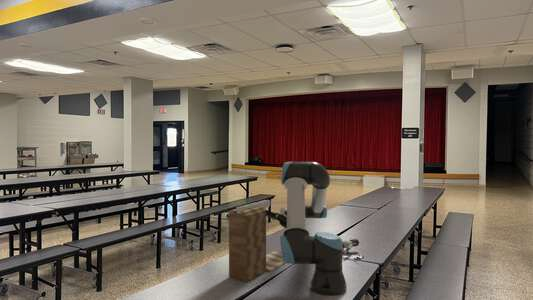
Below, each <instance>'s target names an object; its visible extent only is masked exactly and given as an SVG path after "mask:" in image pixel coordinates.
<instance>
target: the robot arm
mask: <svg viewBox="0 0 533 300" xmlns="http://www.w3.org/2000/svg"><path fill="white" fill-rule="evenodd" d="M281 169H282V170H281V177H280V179H281V180H280V182H281V185H283V187H284V189H285V190H286V209H285V208H284V207H280V211H279V213H278V212H273V211H270V210H268V209H267V207H266V208H263V210H266V218H270V219H272V220H273V221H275V220H276V221H278V222H279V225H280V226H281V227H283V228H284V229H285V230H284V231H283V235H280V236H279V240H280V241H279V243H280V252H281V253H282V260H283V262H284V263H285V264H289V265H290V264H291V265H314V272H313V275H312V277H311V278H312V279H311V280H310V289H311V290H312V291H313V292H315V293H318V294H320V295H326V296H337V295H341V294H344V293H345V292H346V291H347V282H346V278H345V275H344V271H343V251H342V250H343V247H342V242H343V240H342V238H341V237H340V236H339V235H337V234H334V233H331V232H325V231H320V232H319V231H317V232H315V234H314V236H312V235H311V236H310V231H308V230H307V228H306V225H307V224H306V219H326V218H327V217H328V209H327V208H328V207H327V205H326V204H325V203H326V197H327V190H328V187H330V181H331V177H330V174H329V171H328V170H327V169H326V167H324V165H322V164H321V163H319V162H316V161H285V162H283V165H282V168H281ZM309 185H312V189H311V190H312V191H311V192H312V193H311V203H310V205H309V204H306V199H305V198H306V197H305V192H306V191H305V190H306V189H307V187H308V186H309Z"/></svg>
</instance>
